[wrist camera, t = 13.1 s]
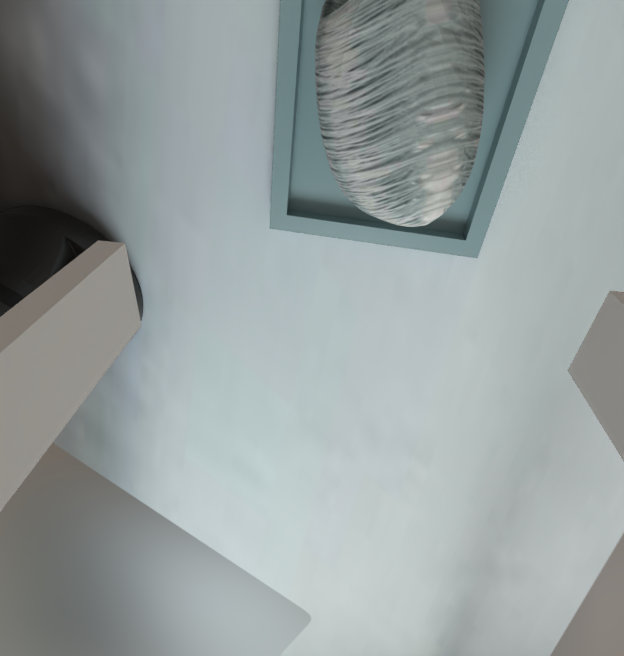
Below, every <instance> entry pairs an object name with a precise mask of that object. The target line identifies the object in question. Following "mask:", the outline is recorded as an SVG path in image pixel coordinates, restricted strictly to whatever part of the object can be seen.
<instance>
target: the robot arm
mask: <svg viewBox="0 0 624 656" xmlns="http://www.w3.org/2000/svg"><path fill="white" fill-rule="evenodd" d="M142 313H143V303H142V296H141V292H140V288H139V285H138V283H137V280H136V278H135V276H134V274H133V272H132V270H131V269H130V265H129V260H128V255H127V250H126V245H125V243H119V242H109V241H107V240H106V239H105V238H104V237H103V236H102V235H100V234H99V233H98V232H97V231H95V230H94V229H92V228H91V227H89V226H88V225H86V224H85V223H83V222H81V221H79V220H77V219H76V218H73V217H71V216H69V215H67V214H64V213H62V212H59V211H55V210H52V209H48V208H42V207H32V206H25V207H16V208H12V209H8V210H5V211H3V212H1V213H0V511H1V510H2V509H3V507H4V506H5V505H6V503H7V502H8V501H9V499H10V498H11V497H12V495H13V494H14V493H15V492H16V490H17V489H18V487H19V486H20V485H21V484H22V482H23V481H24V480H25V478H26V477H27V476H28V474H29V473H30V472H31V470H32V469H33V468H34V466H35V465H36V464H37V462H38V461H39V460H40V458H41V457H42V456H43V454H44V453H45V452H46V450H47V449H48V448H49V447H50V445H51V444H52V443H53V441H54V440H55V439H56V437H57V436H58V435H59V433H60V432H61V431H62V429H63V428H64V427H65V425H66V424H67V423H68V422H69V420H70V419H71V418H72V416H73V415H74V414H75V412H76V411H77V410H78V408H79V407H80V406H81V404H82V403H83V402H84V400H85V399H86V398H87V396H88V395H89V394H90V392H91V391H92V390H93V389H94V387H95V386H96V385H97V383H98V382H99V381H100V379H101V378H102V377H103V375H104V374H105V373H106V371H107V370H108V369H109V367H110V366H111V365H112V363H113V362H114V361H115V359H116V358H117V357H118V355H119V354H120V353H121V352H122V350H123V349H124V348H125V346H126V345H127V344H128V342H129V341H130V340H131V339H132V337H133V336H134V335H135V333H136V332H137V330H138V329H139V328H140V326H141V320H142ZM568 372H569V373H570V375H571V376H572V378H573V380H574V381H575V383H576V385H577V386H578V388H579V389H580V391H581V393H582V394H583V396H584V397H585V399H586V401H587V402H588V404H589V406H590V407H591V409H592V410H593V412H594V414H595V415H596V417H597V419H598V420H599V422H600V423H601V425H602V427H603V428H604V430H605V432H606V433H607V435H608V436H609V438H610V440H611V441H612V443H613V445H614V446H615V448H616V449H617V451H618V453H619V454H620V456H621V458H622V459H623V461H624V292H618V291H609V293H608V295H607V297H606V299H605V301H604V303H603V305H602V306H601V308H600V310H599V312H598V314H597V316H596V318H595V320H594V322H593V324H592V325H591V327H590V329H589V331H588V333H587V335H586V337H585V339H584V341H583V343H582V345H581V346H580V348H579V350H578V352H577V354H576V356H575V358H574V360H573V362H572V364H571V366H570V367H569V369H568Z"/></svg>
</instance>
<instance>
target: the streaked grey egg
mask: <svg viewBox="0 0 624 656" xmlns="http://www.w3.org/2000/svg"><path fill="white" fill-rule="evenodd" d="M484 79H485V72H484V46H483V32H482V23H481V15H480V2H479V0H325V2H324V5H323V7H322V11H321V16H320V20H319V24H318V30H317V35H316V45H315V80H316V95H317V107H318V116H319V123H320V131H321V136H322V140H323V144H324V148H325V152H326V155H327V159H328V163H329V166H330V169H331V172H332V174H333V176H334V178H335V180H336V182H337V184H338V185H339V187H340V189H341V190H342V192H343V194H344V195H345V196H346V197H347V198H348V199H349V200H350V201H351V202H352V203H353V204H354V205H356V206H357V207H358V208H359V209H361V210H362V211H363V212H365V213H367V214H369V215H371V216H373V217H376V218H378V219H381V220H383V221H386V222H389V223H392V224H396V225H399V226H406V227H416V226H423V225H427V224H429V223H431V222H432V221H434V220H436V219H437V218H439V217H440V216H441V215H443V214H444V213H445V212H446V211H447V210H448V209H449V208H450V206H451V205H452V204H453V203H454V202H455V201H456V200H457V198H458V197H459V196H460V194H461V192H462V190H463V189H464V187H465V184H466V182H467V180H468V178H469V176H470V174H471V171H472V168H473V165H474V162H475V158H476V154H477V149H478V145H479V140H480V134H481V127H482V119H483V109H484Z"/></svg>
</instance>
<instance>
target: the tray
mask: <svg viewBox="0 0 624 656" xmlns="http://www.w3.org/2000/svg"><path fill="white" fill-rule="evenodd" d="M568 1H569V0H479V2H480V15H481V23H482V32H483V46H484V72H485V79H484V109H483V119H482V127H481V134H480V140H479V145H478V149H477V154H476V158H475V162H474V165H473V168H472V171H471V174H470V176H469V178H468V180H467V182H466V184H465V187H464V189H463V190H462V192H461V194H460V196H459V197H458V198H457V200H456V201H455V202H454V203H453V204H452V205H451V206H450V208H449V209H448V210H447V211H446V212H445V213H444V214H443V215H441V216H440V217H439V218H437V219H436V220H434V221H432V222H431V223H429V224H427V225H423V226H416V227H406V226H399V225H396V224H392V223H389V222H386V221H383V220H381V219H378V218H376V217H373V216H371V215H369V214H367V213H365V212H363V211H362V210H361V209H359V208H358V207H357V206H356V205H354V204H353V203H352V202H351V201H350V200H349V199H348V198H347V197H346V196H345V195H344V194H343V192H342V190H341V189H340V187H339V185H338V184H337V182H336V180H335V178H334V176H333V174H332V172H331V169H330V166H329V163H328V159H327V155H326V152H325V148H324V144H323V140H322V136H321V131H320V123H319V116H318V107H317V95H316V80H315V45H316V35H317V30H318V24H319V20H320V16H321V11H322V7H323V5H324V2H325V0H280V19H279V40H278V62H277V83H276V104H275V125H274V146H273V167H272V188H271V209H270V229H277V230H284V231H291V232H298V233H305V234H312V235H319V236H326V237H333V238H340V239H347V240H354V241H361V242H368V243H375V244H381V245H388V246H395V247H402V248H409V249H416V250H423V251H430V252H437V253H444V254H451V255H458V256H465V257H472V258H478V255H479V252H480V249H481V246H482V244H483V241H484V238H485V235H486V232H487V229H488V227H489V224H490V221H491V218H492V215H493V213H494V210H495V207H496V204H497V201H498V198H499V196H500V193H501V190H502V187H503V184H504V182H505V179H506V176H507V173H508V170H509V167H510V165H511V162H512V159H513V156H514V153H515V150H516V148H517V145H518V142H519V139H520V136H521V134H522V131H523V128H524V125H525V122H526V119H527V117H528V114H529V111H530V108H531V105H532V103H533V100H534V97H535V94H536V91H537V88H538V86H539V83H540V80H541V77H542V74H543V71H544V69H545V66H546V63H547V60H548V57H549V55H550V52H551V49H552V46H553V43H554V40H555V38H556V35H557V32H558V29H559V26H560V24H561V21H562V18H563V15H564V12H565V9H566V7H567V4H568Z"/></svg>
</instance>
